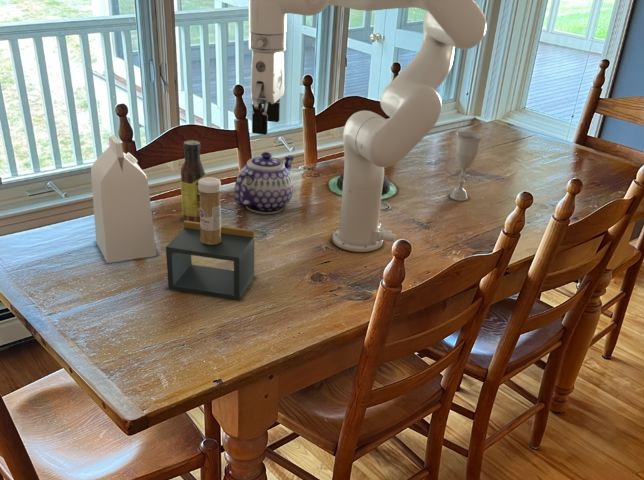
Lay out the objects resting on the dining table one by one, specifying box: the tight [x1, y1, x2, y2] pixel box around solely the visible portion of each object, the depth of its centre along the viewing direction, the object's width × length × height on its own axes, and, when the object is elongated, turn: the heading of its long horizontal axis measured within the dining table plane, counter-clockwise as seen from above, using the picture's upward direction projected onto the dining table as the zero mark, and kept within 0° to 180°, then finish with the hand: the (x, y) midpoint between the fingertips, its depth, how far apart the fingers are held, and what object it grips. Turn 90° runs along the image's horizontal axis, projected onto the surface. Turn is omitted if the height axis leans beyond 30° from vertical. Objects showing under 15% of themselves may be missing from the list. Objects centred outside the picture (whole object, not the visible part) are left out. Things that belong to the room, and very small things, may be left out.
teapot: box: [233, 151, 295, 215], centre depth 192 cm, size 25×15×15 cm, turn 143°
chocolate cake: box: [328, 172, 397, 200], centre depth 211 cm, size 15×19×20 cm
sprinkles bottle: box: [198, 176, 222, 245], centre depth 150 cm, size 5×5×14 cm
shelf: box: [165, 220, 255, 301], centre depth 156 cm, size 16×11×12 cm
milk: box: [90, 134, 157, 264], centre depth 164 cm, size 12×12×26 cm
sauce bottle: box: [180, 140, 207, 223], centre depth 182 cm, size 7×6×20 cm
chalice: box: [449, 130, 484, 202], centre depth 204 cm, size 7×7×18 cm
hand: (266, 127), depth 155 cm, fingers open, 9 cm apart
